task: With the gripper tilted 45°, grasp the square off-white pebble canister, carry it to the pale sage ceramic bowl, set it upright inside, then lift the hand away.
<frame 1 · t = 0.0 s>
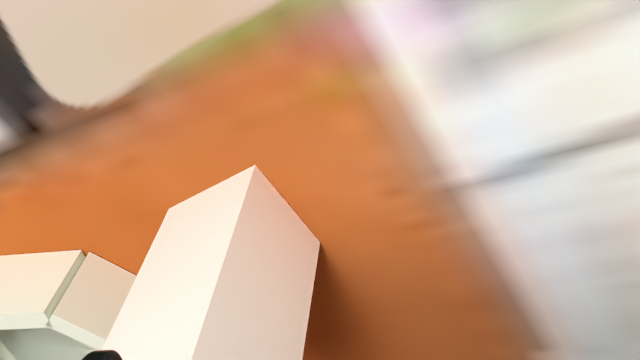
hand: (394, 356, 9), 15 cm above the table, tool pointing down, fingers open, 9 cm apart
sage bowl: (88, 335, 34), on the table
pebble canister: (244, 225, 28), on the table
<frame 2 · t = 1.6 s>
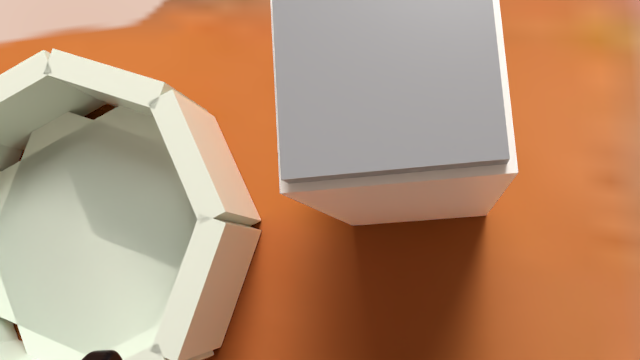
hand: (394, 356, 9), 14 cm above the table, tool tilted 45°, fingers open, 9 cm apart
sage bowl: (106, 236, 25), on the table
pebble canister: (412, 155, 23), on the table
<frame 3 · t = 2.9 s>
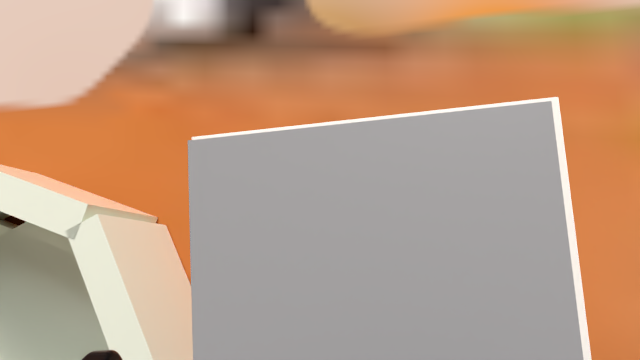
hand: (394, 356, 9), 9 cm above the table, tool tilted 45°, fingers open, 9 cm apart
pebble canister: (417, 286, 18), on the table
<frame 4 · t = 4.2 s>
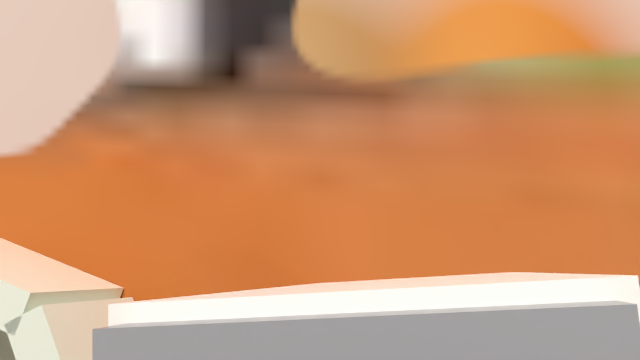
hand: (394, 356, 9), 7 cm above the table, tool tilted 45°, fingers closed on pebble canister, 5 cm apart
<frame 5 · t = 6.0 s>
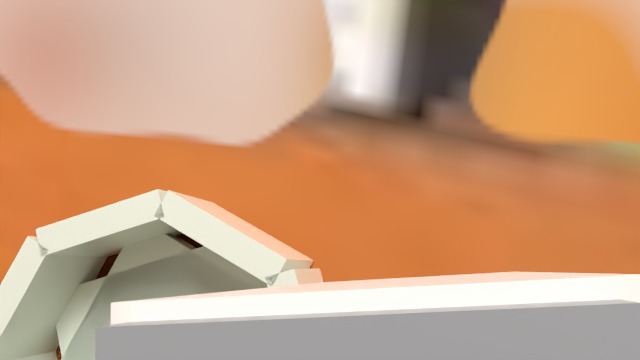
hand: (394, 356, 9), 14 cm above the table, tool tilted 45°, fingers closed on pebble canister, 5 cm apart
when the fingers open (9 cm above the table, at t = 8.2 s): pebble canister drops 1 cm, resting on sage bowl.
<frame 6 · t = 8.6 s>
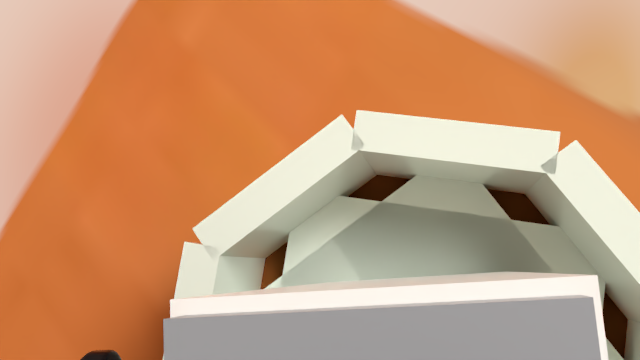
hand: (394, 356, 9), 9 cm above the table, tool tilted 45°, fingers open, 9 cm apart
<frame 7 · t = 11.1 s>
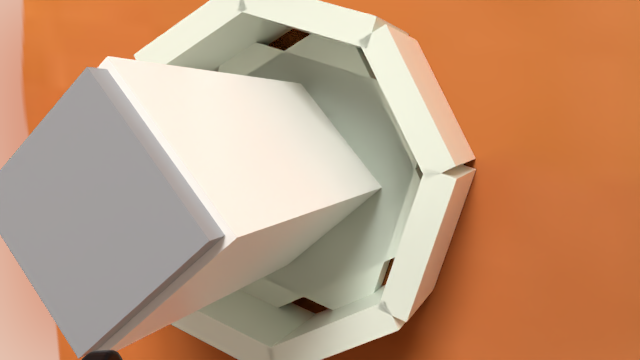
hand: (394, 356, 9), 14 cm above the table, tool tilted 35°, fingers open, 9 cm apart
sage bowl: (304, 173, 24), on the table
pebble canister: (294, 176, 23), point 1 cm above the table, touching sage bowl
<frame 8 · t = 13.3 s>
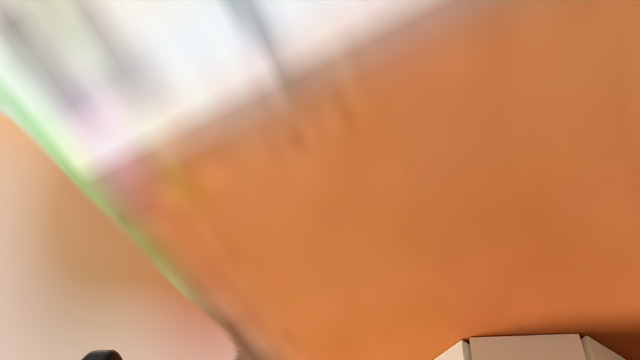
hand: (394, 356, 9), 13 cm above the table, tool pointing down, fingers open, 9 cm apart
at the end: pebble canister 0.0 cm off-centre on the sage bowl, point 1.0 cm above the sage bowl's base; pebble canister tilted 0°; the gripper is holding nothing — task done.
